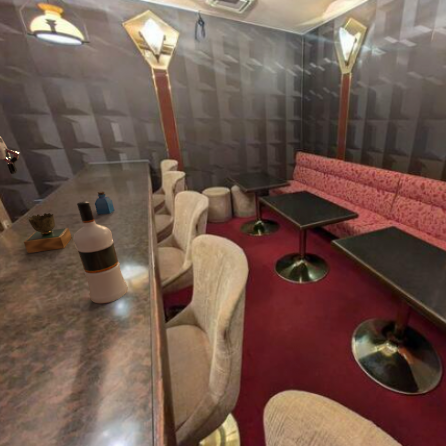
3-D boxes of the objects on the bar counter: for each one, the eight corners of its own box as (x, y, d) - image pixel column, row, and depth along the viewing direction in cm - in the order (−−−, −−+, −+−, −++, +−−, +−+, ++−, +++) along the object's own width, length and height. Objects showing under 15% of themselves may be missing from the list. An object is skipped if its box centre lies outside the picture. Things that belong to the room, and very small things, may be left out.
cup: (33, 239, 98) (25, 220, 95) (35, 233, 103) (28, 215, 100) (58, 234, 102) (52, 216, 99) (59, 229, 108) (53, 211, 105)
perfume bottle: (97, 214, 141) (91, 193, 137) (102, 210, 147) (97, 191, 142) (110, 213, 143) (105, 193, 139) (114, 210, 148) (109, 190, 144)
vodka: (83, 303, 72) (48, 206, 61) (108, 285, 81) (81, 196, 70) (113, 306, 72) (84, 208, 61) (135, 287, 80) (113, 198, 69)
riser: (28, 253, 98) (23, 241, 96) (39, 242, 107) (34, 231, 105) (64, 248, 103) (60, 236, 101) (71, 238, 112) (68, 227, 110)
